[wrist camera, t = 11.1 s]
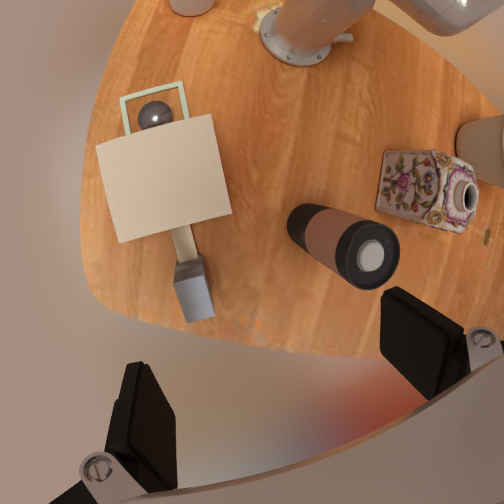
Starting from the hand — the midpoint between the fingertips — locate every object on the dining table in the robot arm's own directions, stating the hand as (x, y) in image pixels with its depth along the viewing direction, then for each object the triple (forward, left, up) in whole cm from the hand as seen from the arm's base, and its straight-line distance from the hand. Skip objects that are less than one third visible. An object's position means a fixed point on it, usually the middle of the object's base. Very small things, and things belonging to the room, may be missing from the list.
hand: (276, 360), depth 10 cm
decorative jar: (-36, +2, -37) cm, 51 cm away
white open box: (+5, -7, -36) cm, 37 cm away
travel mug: (-15, +5, -36) cm, 40 cm away
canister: (-61, -4, -36) cm, 71 cm away
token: (+5, -17, -36) cm, 41 cm away
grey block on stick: (+5, 0, -36) cm, 37 cm away
